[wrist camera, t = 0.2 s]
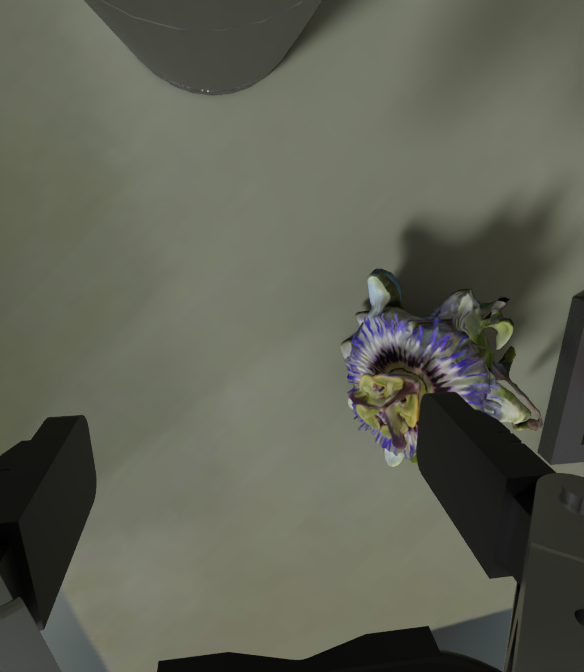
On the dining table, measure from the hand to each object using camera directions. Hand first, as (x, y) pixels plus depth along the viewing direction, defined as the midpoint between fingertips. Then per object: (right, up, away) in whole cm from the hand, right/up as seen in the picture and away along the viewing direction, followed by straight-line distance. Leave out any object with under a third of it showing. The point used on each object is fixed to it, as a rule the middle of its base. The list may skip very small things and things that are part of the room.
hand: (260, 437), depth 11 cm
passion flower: (+9, +2, +20) cm, 21 cm away
